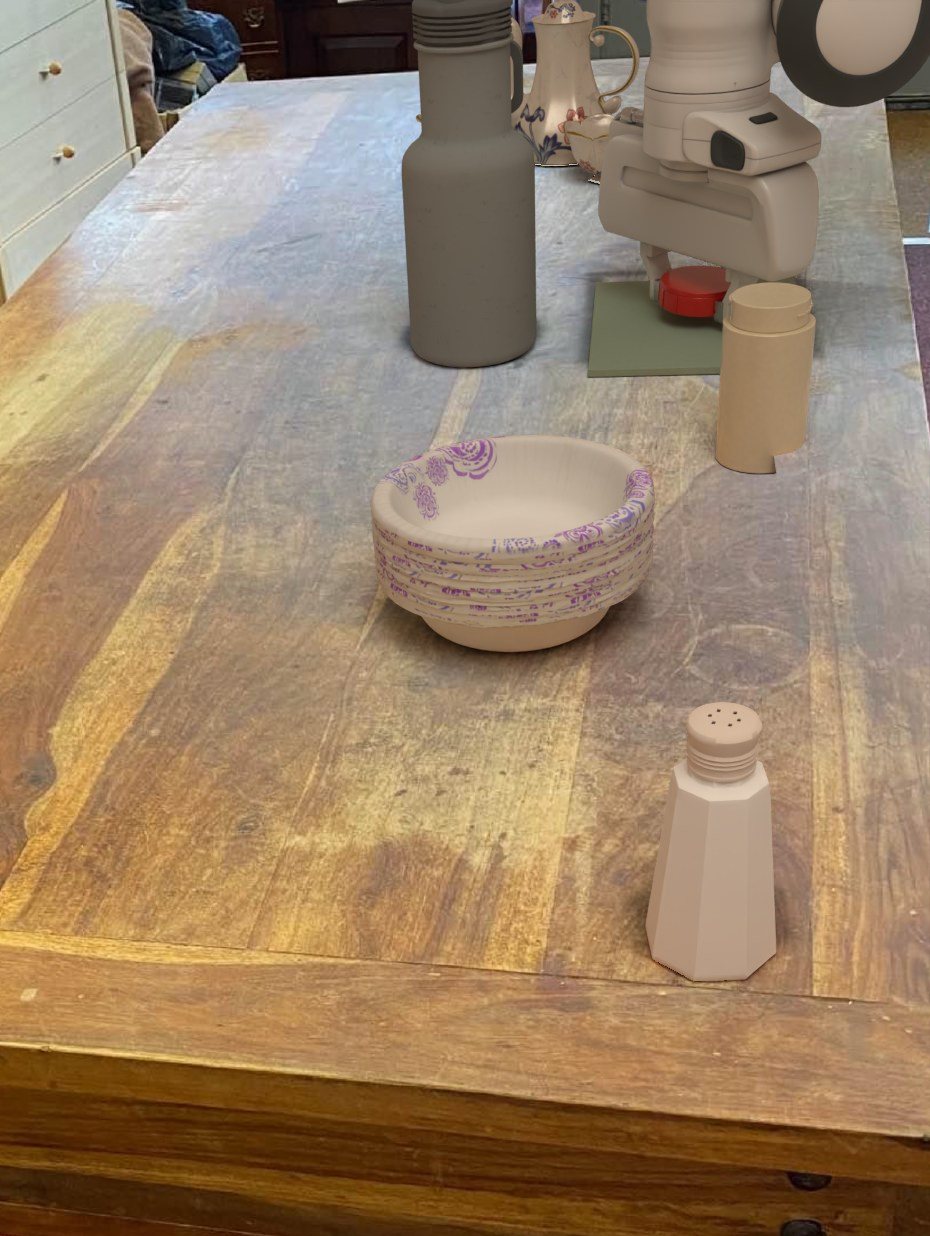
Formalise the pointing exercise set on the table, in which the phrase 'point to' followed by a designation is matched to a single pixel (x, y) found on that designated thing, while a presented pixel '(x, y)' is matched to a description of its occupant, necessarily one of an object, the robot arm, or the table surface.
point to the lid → (692, 290)
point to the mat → (650, 335)
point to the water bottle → (469, 190)
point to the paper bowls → (514, 538)
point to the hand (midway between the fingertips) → (695, 311)
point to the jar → (764, 375)
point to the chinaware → (567, 90)
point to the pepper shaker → (715, 853)
